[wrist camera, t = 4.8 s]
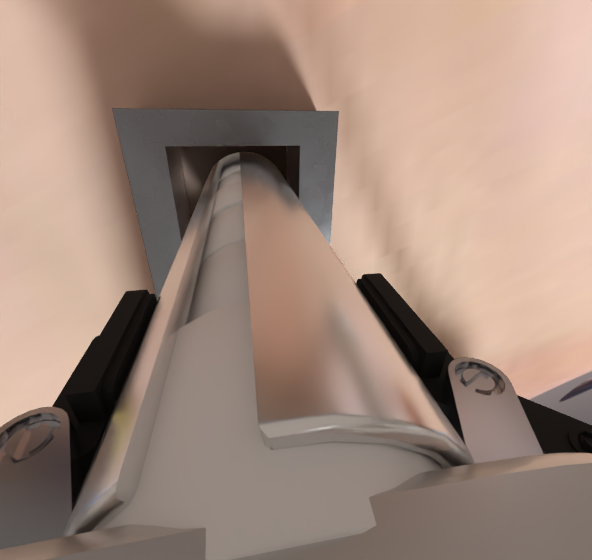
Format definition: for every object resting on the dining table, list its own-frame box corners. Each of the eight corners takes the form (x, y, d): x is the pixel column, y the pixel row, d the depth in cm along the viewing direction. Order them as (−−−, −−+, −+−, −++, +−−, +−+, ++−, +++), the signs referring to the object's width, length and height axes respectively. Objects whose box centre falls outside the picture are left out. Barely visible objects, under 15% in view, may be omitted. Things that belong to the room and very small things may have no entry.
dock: (137, 109, 24) (111, 108, 18) (316, 111, 26) (339, 111, 21) (190, 372, 36) (184, 417, 31) (307, 358, 39) (320, 397, 33)
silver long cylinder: (204, 227, 26) (61, 772, 5) (206, 145, 23) (-144, 599, 2) (280, 235, 28) (433, 679, 6) (291, 158, 25) (658, 496, 3)
